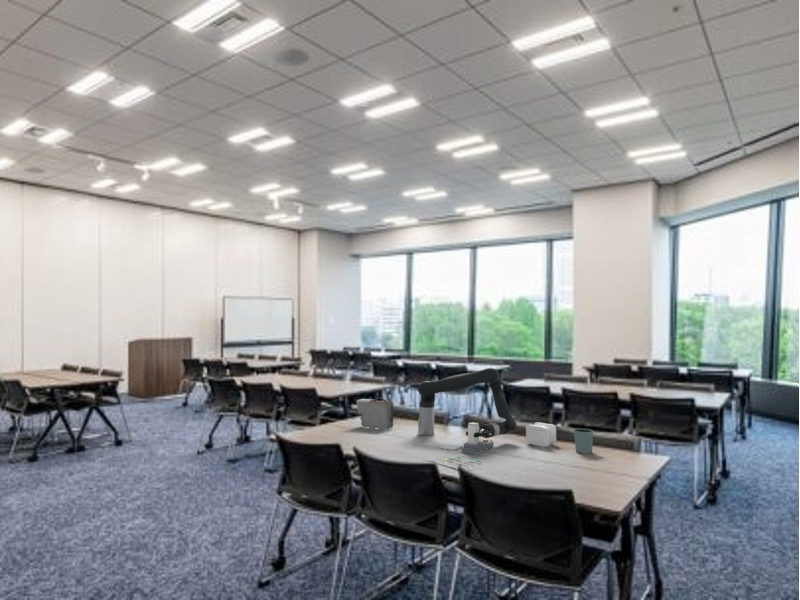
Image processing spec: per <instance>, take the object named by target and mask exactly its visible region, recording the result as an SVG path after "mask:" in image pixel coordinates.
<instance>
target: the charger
mask: <svg viewBox="0 0 800 600" xmlns="http://www.w3.org/2000/svg"><path fill="white" fill-rule="evenodd" d="M479 428H480V424H479V422H473V421H472V422H468V425H467V431H468V436H467V442H468V444H473V445H477V444H479V440H480V437H474V433H477V432H479Z"/></svg>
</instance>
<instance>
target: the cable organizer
mask: <svg viewBox="0 0 800 600" xmlns="http://www.w3.org/2000/svg"><path fill="white" fill-rule="evenodd" d="M525 442H526V443H527V444H529V445H530V444H532V445H531V446H539V447H540V448H547V447H550V446H553V445H556V443H557V427H556V425H554V424H550V423H544V422H537V421H536V422H534V424H527V425H526V426H525Z"/></svg>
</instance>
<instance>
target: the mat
mask: <svg viewBox="0 0 800 600" xmlns="http://www.w3.org/2000/svg"><path fill="white" fill-rule="evenodd" d="M441 448H442V449H441ZM462 448H463V447H462V445H455V444H449V443H447V444H445V445H443V446H440V448H439V449H441V450H447V449H448V450H449V451H454V450H455V451H457V450H459V449H462ZM456 449H457V450H456Z"/></svg>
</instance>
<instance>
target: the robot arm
mask: <svg viewBox="0 0 800 600" xmlns="http://www.w3.org/2000/svg"><path fill="white" fill-rule="evenodd" d="M482 383H483V384H484V383H485V384H486V383H487V384H488V386H489V387H490V390H491V394H492V396H493V403H494V407H495V410H496V413H497V416H498V417H499V418H502V419H503V418H504V419H505V420H504V421H502V422H494V423H493V422H490V423H485V424H483V425H480V427H479V432H477V433H474V437H479V438H484V439H489V438H493V437H494V438H495V437H496V436H499V435H507V434H510V433H511V432H512V433H513V432H515V431H516V430H517V422H516V420H515V418H514V417H513V415H512V413H511V412H510V409H509V406H508V403H507V400H506V398H505V395H504V391H503V388H502V382H501V375H500V372H499V371H498V370H497V369H496V368H494V367H488V368H484V369H482V370H481V369H480V370H478V371H474V372H466V373H461V374H456V375H451V376H448V377H445V378H443V379H438V380H435V381H431V380H425V381H423V382H421V383H420V384H419V385H418V388H417V392H418V394H419V395H420V401H419V418H417V425H418V426H417V434H418V435H421V436H433V435H434V434H435V402H436V394H438V393H446V392H447V393H448V392H455V391H460V390H465V389H468V388H470V387H473V386H475V385H478V384H482ZM465 435H466V436H467V437H468V430H467V431H466V432H465Z"/></svg>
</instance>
